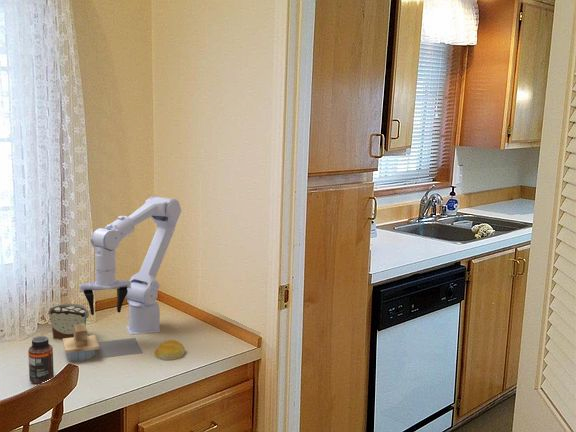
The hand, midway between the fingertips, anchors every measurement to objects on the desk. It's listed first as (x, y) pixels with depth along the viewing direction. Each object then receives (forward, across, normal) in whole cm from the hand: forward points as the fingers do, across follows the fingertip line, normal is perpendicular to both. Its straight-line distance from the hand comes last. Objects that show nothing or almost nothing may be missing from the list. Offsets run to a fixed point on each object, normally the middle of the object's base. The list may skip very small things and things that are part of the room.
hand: (105, 312), depth 182 cm
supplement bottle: (+10, -19, -19) cm, 29 cm away
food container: (+10, -9, +8) cm, 16 cm away
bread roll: (+10, +16, -14) cm, 24 cm away
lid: (+6, -8, -7) cm, 13 cm away
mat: (+10, +3, -5) cm, 11 cm away
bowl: (+10, -8, -7) cm, 15 cm away
